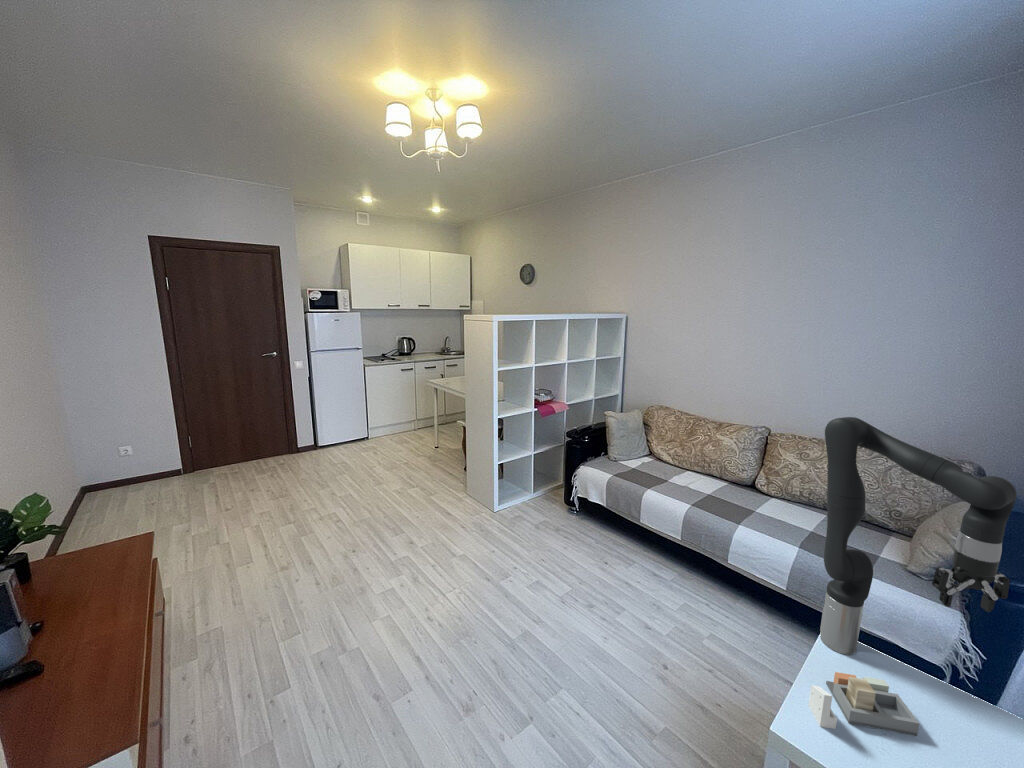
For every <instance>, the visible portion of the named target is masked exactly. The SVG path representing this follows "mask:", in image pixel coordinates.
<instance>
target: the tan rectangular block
mask: <svg viewBox="0 0 1024 768" xmlns="http://www.w3.org/2000/svg"><path fill="white" fill-rule="evenodd" d="M875 695H876V693H875V692H874V690H873V689H872V687H871V686H870V684H869V683H868V681H867V680H866V679H863V678H860V677H857V678H854V677H849V680H848V687H847V693H846V698H847V699H848V701H849V703H850V704H851V706H852V707H853V708H856V709H861V710H867V711H872V712H873V706H874V700H875Z"/></svg>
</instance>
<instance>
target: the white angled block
mask: <svg viewBox="0 0 1024 768" xmlns="http://www.w3.org/2000/svg"><path fill="white" fill-rule="evenodd" d="M809 692H810V693H809V700H808V707H809V709H810V711H811V713H812V715H813V716H814V719H815V720H816V722H817V724H818V726H819V727H820V728H825V729H826V728H827V729H833V730H836V728H837V724H838V723H837V722H838V718H837V717H836V715H835V713H834V711H833V710H832V708H831V707H832V702H833V695H832V694H831V693H829V692H827V691H826V690H825V689H823V688H821V687H820V686H818V685H813V684H812V685H810V691H809Z"/></svg>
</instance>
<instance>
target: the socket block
mask: <svg viewBox="0 0 1024 768" xmlns="http://www.w3.org/2000/svg"><path fill="white" fill-rule="evenodd" d="M849 677H854V678H858V677H857V676H856V675H855V674H850V673H843V672H838V671H835V672H834V675H833V681H831V680H830V681H828V680H826V682H825V685H826V686H827V688H828V690H829V691H830V694H831V696H832V698H833V699H834V700H835V702H836V703H837V706H838V707H839V709H840V710H841V713H842V714H843V716H844V718H845V720H846V722H847V723H848V724H851V725H857V726H861V727H866V728H871V729H878V730H883V731H888V732H893V733H898V734H902V735H903V734H904V735H908V736H913V737H917V736H918V731H919V727H920V722H919V721H918V719H917V718H916V717H915V715H914V714H913V713H912V711H911V710H910V709H909V708H908V706H907V705H906V703H905V702H904V701H903V699H902V698H901V697H900V695H899V693H892V692H889V691H890V686H889V684H888V683H887V681H886V680H885V679H879V678H875V677H874V678H873V677H869V676H863V678H862V679H866V680H867V681H868V683H869V684H870V686H871V687H872V689H873V690H874V692H875V693H876V695H875V700H874V706H873V712H872V711H867V710H861V709H856V708H853V707H852V706H851V704H850V703H849V701H848V699H847V698H846V693H847V687H848V680H849Z"/></svg>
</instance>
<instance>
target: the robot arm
mask: <svg viewBox="0 0 1024 768" xmlns="http://www.w3.org/2000/svg"><path fill="white" fill-rule="evenodd" d="M824 439H825V448H826V456H827V488H826V503H827V504H826V507H827V516H826V517H827V521H826V523H827V524H826V535H825V541H824V542H825V543H824V550H823V551H824V552H823V562H824V569H825V570H826V573H827V574H828V576H829V577H830V578H831V579H832V580H830V581H828V583H827V585H826V591H825V599H824V605H823V608H822V613H821V622H820V628H819V631H820V632H819V633H820V634H819V639H820V640H821V641H822V643H823V644H824V645H825V646H827V647H828V648H829V649H831V650H833V651H835V652H837V653H839V654H843V655H854V654H855V653H856V652H857V647H858V641H859V634H860V629H861V624H862V618H863V617H862V616H863V610H864V604H865V601H866V600H867V599H868V597H869V595H870V590H871V587H872V583H873V578H874V566H873V563H872V561H871V558H870V557H869V555H867V554H866V553H865V552H864V551H862V550H860V549H847V548H848V547H847V546H848V541H849V538H850V536H851V534H852V533H853V531H854V530H855V529H856V527H857V526H858V525H859V524H860V522H861V520H863V518H864V516H865V513H866V489H865V486H864V482H863V480H862V477H861V475H860V473H859V471H858V467H857V451H858V447H860V448H864V449H867V450H869V451H873V452H875V453H878V454H879V455H882V456H884V457H885V458H887V459H889V460H890V461H892V462H893V463H895V464H896V465H898V467H899V466H900V467H901V468H902V469H904V470H906V471H907V472H909V473H912V474H914V475H916V476H917V477H920V478H922V479H923V480H926V481H927V482H930V483H933V484H935V485H938V486H940V487H942V488H943V489H945V490H946V491H947V492H949V493H951V494H952V495H954V496H955V497H957V498H959V499H960V500H962V501H964V502H965V503H967V504H969V505H970V506H969V507H968V509H967V510H966V511H965V512H964V513H963V516H962V519H961V523H960V529H959V532H958V535H957V537H956V540H955V545H954V551H953V555H952V567H951V568H950V569H948V568H944V567H942V566H941V565H939V566H937V567H936V568H935V572H934V575H933V578H932V582H931V585H932V586H933V587H934V588H936V590H938V591H939V592H940V593H939V598H938V600H939V602H941V604H943V606H945V607H948V608H951V606H952V601H953V596H954V595H953V594H955V593H957V592H961V591H963V590H964V589H965V590H966V589H967V590H972V589H973V590H976V591H982V592H983V594H982V596H981V600H980V605H979V606H980V607H981V609H982V610H984V611H985V612H988V613H991V612H992V611H993V610H994V609H995V605H996V601H998V599H1002V600H1007V599H1008V597H1009V589H1010V584H1011V579H1010V578H1008V577H1007V576H1005V575H1004V574H1003V573H1001V572H998V570H999V565H1000V561H1001V557H1002V552H1003V542H1004V536H1005V532H1006V525H1007V521H1008V519H1009V517H1010V515H1011V513H1012V511H1013V509H1014V506H1015V503H1016V499H1017V490H1016V488H1015V486H1014V485H1013V484H1012V482H1010V481H1008V480H1007V479H1005V478H1002V477H1000V476H997V475H996V476H995V475H993V476H992V475H987V476H982V477H980V478H978V477H977V476H974V475H972V474H970V473H968V472H966V471H964V470H963V467H962V466H961V465H959V464H957V463H956V462H953V461H951V460H948V459H947V458H943V457H942V456H939V455H936V454H934V453H931V452H929V451H927V450H924V449H921V448H919V447H916V446H914V445H912V444H909V443H907V442H905V441H902V440H900V439H898V438H896V437H894V436H892V435H890V434H887V433H886V432H884V431H882V430H881V429H878V428H877V427H875V426H873V425H871V424H870V423H868V422H866V421H864V420H862V419H860V418H858V417H854V416H853V417H852V416H845V417H837V418H834V419H831V420H830V421H829V422H828V423H827V424H826V426H825V428H824ZM954 582H956V583H957V584H955V583H954ZM992 583H993V587H992V586H991V584H992ZM820 635H821V636H820Z"/></svg>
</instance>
